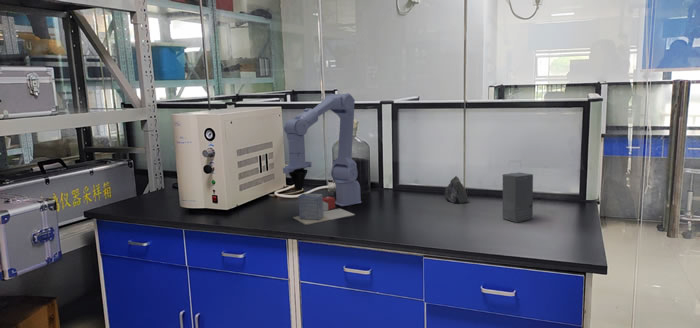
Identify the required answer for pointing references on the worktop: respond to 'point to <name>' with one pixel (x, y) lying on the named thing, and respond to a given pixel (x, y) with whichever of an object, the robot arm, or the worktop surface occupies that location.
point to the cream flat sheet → (327, 216)
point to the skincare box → (517, 197)
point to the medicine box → (311, 206)
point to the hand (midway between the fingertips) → (298, 189)
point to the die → (330, 202)
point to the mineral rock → (456, 191)
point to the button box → (325, 206)
